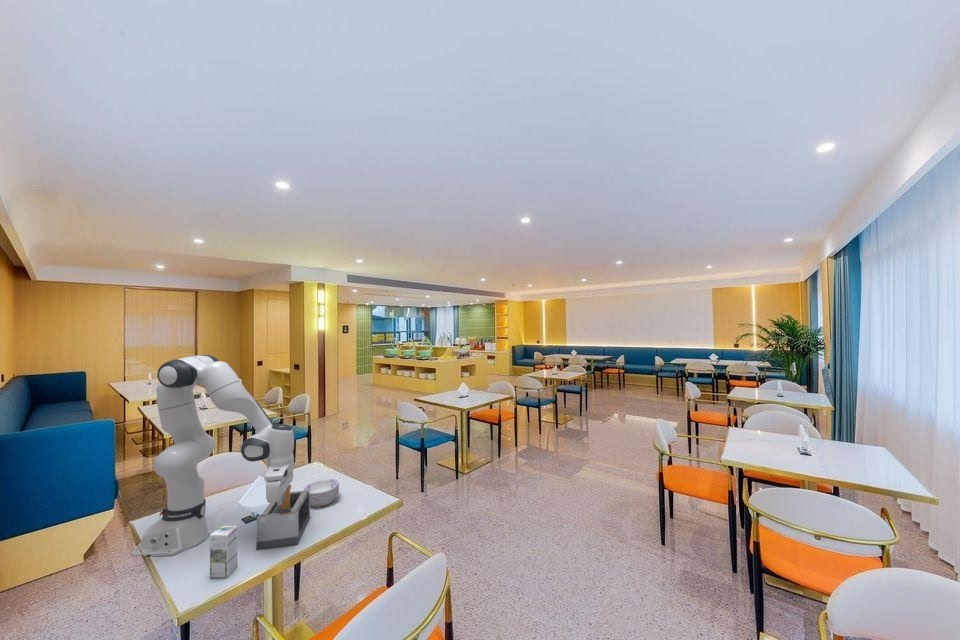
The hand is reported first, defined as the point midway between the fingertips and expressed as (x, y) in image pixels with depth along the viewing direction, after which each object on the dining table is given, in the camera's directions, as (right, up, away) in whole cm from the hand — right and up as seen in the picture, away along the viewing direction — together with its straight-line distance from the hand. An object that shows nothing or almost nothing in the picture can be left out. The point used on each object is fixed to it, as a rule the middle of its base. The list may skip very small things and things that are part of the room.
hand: (280, 503), depth 139 cm
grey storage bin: (-1, -15, +5) cm, 16 cm away
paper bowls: (+2, -15, +31) cm, 34 cm away
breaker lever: (-1, -6, +5) cm, 8 cm away
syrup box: (-9, -15, -18) cm, 25 cm away
